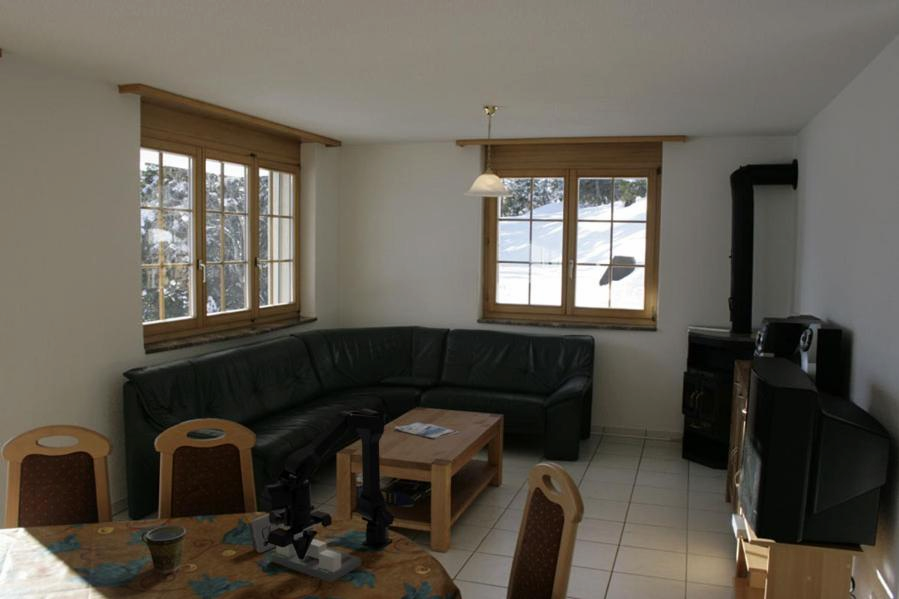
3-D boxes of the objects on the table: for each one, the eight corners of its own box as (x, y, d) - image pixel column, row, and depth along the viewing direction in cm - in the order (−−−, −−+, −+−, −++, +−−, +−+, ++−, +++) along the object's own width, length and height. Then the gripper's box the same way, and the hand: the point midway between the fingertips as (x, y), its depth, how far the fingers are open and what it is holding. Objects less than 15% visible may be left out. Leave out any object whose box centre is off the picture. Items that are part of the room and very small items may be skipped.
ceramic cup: (194, 563, 208) (193, 528, 207) (170, 579, 199) (168, 542, 198) (155, 556, 213) (154, 522, 212) (129, 571, 203) (128, 535, 202)
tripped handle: (312, 550, 211) (312, 538, 211) (326, 555, 208) (326, 542, 208) (305, 554, 209) (304, 542, 208) (318, 559, 206) (318, 546, 206)
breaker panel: (302, 546, 220) (301, 526, 219) (360, 565, 208) (360, 544, 207) (271, 561, 210) (270, 540, 209) (330, 582, 198) (330, 560, 197)
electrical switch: (259, 554, 214) (256, 522, 214) (247, 551, 218) (245, 519, 217) (285, 543, 222) (283, 512, 221) (274, 540, 225) (271, 509, 224)
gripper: (302, 486, 214) (303, 539, 216) (251, 507, 199) (253, 564, 200) (332, 494, 208) (333, 549, 210) (282, 516, 193) (283, 575, 194)
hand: (301, 558), depth 204 cm, fingers closed
